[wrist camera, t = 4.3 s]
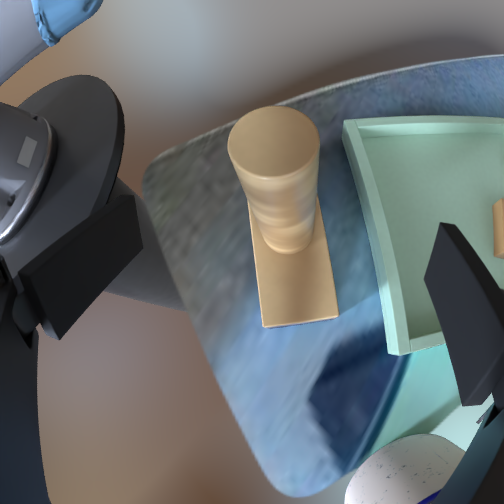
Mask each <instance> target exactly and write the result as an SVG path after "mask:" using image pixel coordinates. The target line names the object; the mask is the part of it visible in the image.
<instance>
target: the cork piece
mask: <svg viewBox="0 0 504 504" xmlns="http://www.w3.org/2000/svg"><path fill="white" fill-rule="evenodd" d="M492 212H493V234H494V257H497V258H501V259H504V199H503V198H501V199H500V200H498V201H497V202H496V203H495V204H494V205H492Z"/></svg>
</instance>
